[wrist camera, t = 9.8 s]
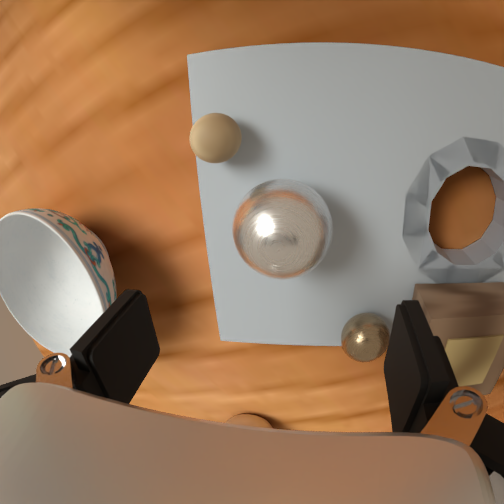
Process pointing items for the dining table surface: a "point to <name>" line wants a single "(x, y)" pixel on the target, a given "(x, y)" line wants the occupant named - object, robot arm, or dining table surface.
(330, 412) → the dining table surface
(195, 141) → the ball
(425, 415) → the robot arm
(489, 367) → the walnut cover
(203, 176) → the hole board
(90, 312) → the chinaware
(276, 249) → the steel boule
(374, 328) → the bronze ball
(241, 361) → the dining table surface
